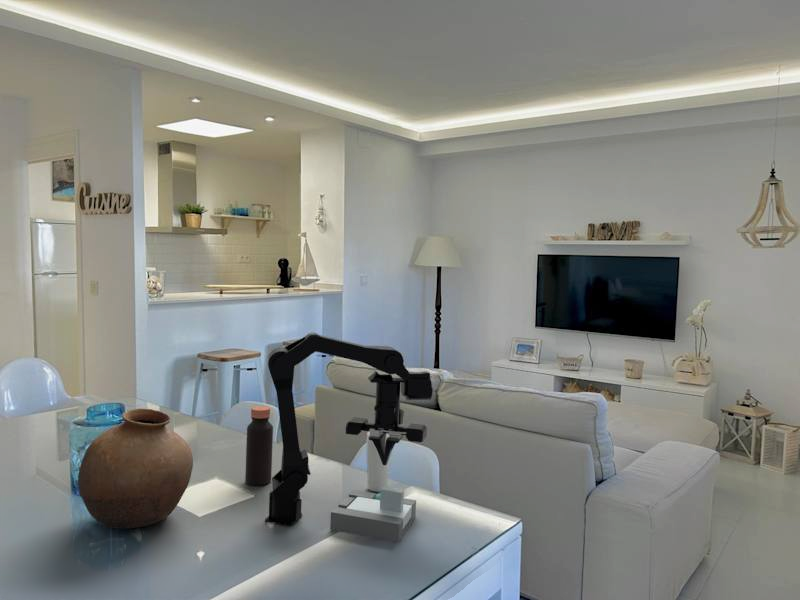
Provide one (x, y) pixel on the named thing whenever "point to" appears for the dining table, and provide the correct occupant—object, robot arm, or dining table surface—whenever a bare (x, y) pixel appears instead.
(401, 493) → the white stepped block
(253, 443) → the bottle
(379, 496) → the teal egg-shaped capsule
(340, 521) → the filter housing
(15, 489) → the dining table surface
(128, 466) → the pottery
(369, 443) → the drinking glass
